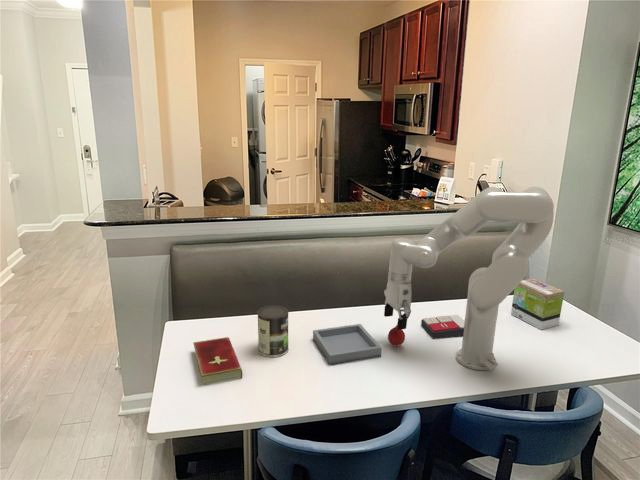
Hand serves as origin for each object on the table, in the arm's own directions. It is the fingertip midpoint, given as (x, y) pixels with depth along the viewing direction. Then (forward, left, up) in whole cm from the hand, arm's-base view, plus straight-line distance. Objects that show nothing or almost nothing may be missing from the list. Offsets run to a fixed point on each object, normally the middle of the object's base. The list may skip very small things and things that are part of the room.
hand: (394, 322), depth 159 cm
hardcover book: (+5, +60, -10) cm, 61 cm away
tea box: (+2, -63, -9) cm, 63 cm away
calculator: (+5, -24, -10) cm, 26 cm away
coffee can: (+9, +40, -9) cm, 42 cm away
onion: (-1, -1, -9) cm, 9 cm away
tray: (+3, +16, -9) cm, 19 cm away
